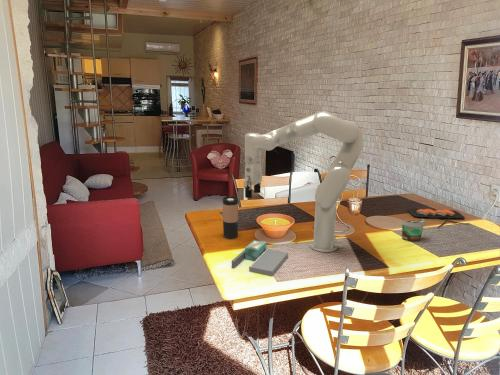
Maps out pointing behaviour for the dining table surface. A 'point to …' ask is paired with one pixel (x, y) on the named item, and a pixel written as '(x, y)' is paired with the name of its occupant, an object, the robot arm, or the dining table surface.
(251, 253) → the teal rectangular box
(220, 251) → the dining table surface
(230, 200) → the travel mug
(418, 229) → the food container
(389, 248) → the dining table surface
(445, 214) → the sushi plate
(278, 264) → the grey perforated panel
